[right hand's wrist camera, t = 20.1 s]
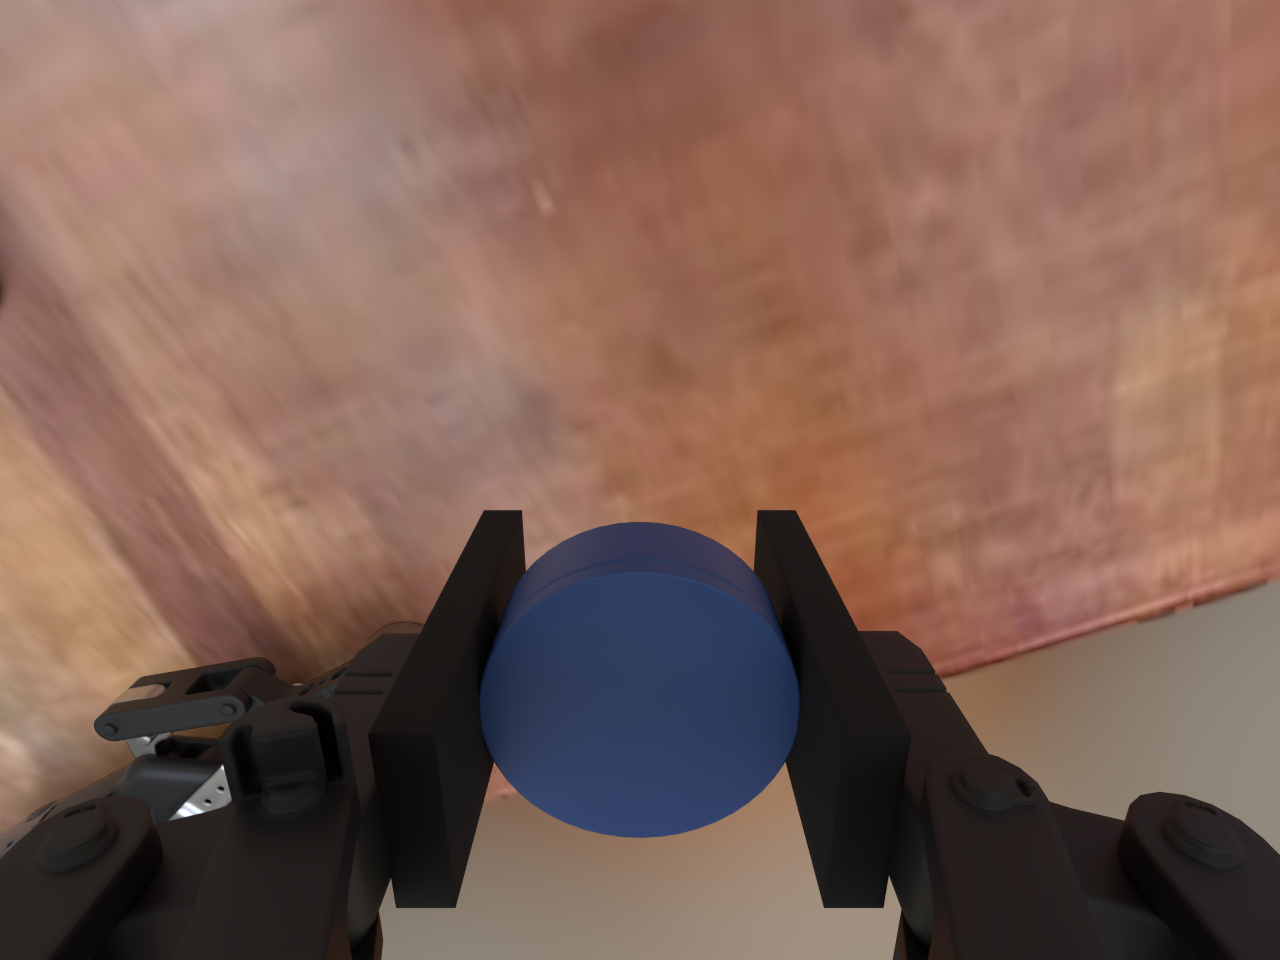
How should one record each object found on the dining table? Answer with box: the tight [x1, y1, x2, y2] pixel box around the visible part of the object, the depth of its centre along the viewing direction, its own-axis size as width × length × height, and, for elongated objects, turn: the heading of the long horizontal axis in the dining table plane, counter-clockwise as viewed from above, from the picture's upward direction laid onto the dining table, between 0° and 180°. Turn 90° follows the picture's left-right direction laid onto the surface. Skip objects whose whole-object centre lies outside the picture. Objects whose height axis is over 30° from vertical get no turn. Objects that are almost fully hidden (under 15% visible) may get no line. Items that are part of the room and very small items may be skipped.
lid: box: [479, 522, 800, 838], centre depth 11 cm, size 5×5×2 cm
